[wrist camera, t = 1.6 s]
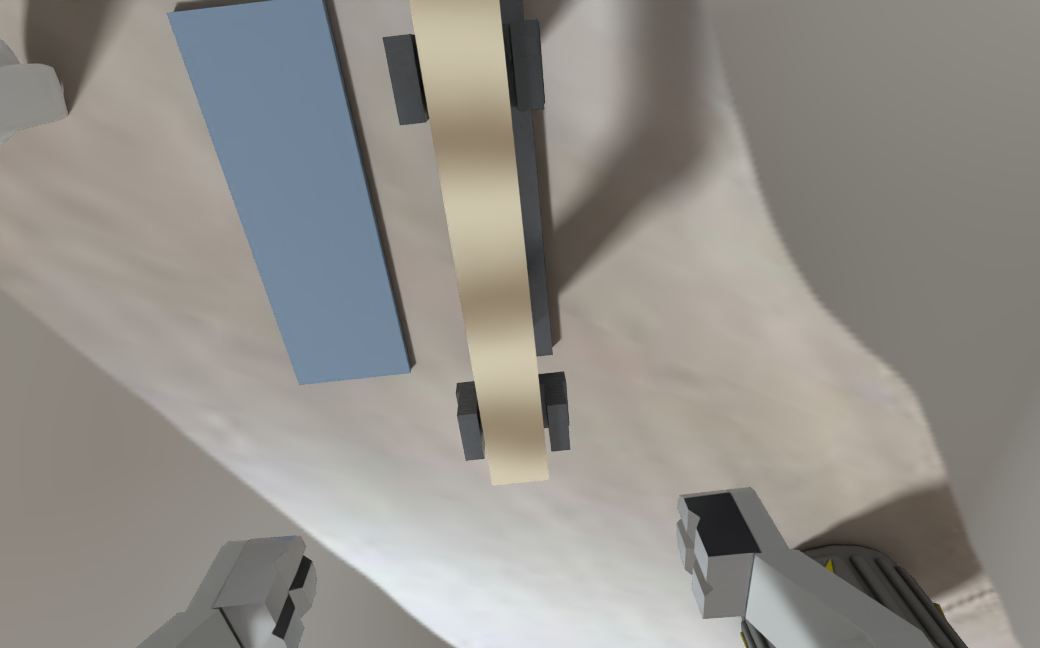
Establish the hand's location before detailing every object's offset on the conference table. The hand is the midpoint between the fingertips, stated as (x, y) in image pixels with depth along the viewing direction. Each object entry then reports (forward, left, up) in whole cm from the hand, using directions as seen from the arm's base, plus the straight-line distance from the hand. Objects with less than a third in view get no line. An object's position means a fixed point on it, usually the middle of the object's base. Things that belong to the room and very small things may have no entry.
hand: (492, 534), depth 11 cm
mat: (0, -13, -29) cm, 32 cm away
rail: (0, 0, -16) cm, 16 cm away
